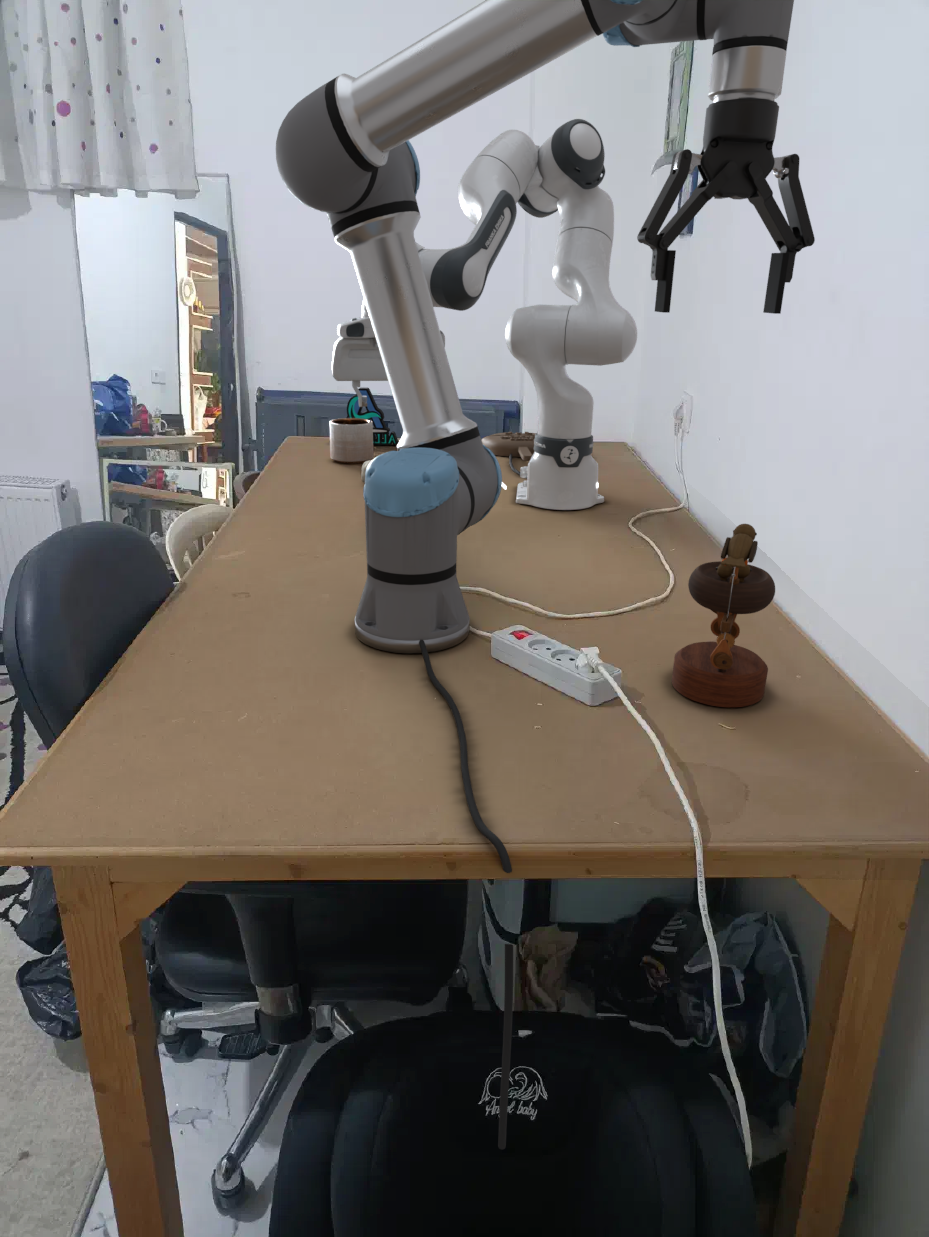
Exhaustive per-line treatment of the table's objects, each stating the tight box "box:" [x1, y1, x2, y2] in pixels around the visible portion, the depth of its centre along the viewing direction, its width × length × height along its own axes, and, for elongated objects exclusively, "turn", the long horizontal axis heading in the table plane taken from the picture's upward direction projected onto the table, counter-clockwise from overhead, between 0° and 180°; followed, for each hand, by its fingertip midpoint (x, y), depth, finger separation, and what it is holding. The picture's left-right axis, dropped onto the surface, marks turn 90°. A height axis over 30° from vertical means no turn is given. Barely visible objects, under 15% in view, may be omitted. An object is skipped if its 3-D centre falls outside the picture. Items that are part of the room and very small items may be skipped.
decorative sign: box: [329, 386, 400, 446], centre depth 231 cm, size 19×2×15 cm, turn 86°
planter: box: [328, 417, 375, 464], centre depth 212 cm, size 11×11×10 cm
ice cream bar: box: [481, 431, 537, 462], centre depth 222 cm, size 21×28×4 cm
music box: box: [671, 523, 776, 708], centre depth 96 cm, size 15×11×20 cm
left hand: (717, 313), depth 98 cm, fingers open, 13 cm apart
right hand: (388, 406), depth 155 cm, fingers open, 8 cm apart
